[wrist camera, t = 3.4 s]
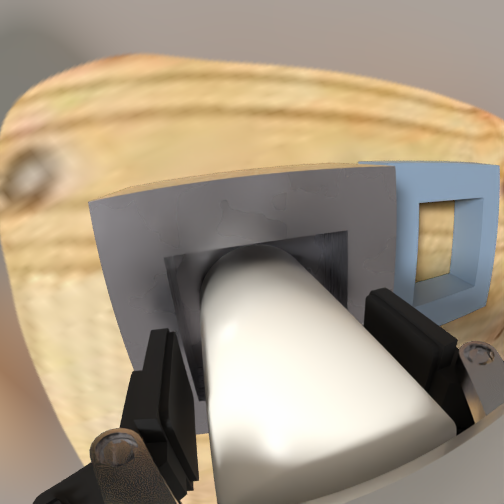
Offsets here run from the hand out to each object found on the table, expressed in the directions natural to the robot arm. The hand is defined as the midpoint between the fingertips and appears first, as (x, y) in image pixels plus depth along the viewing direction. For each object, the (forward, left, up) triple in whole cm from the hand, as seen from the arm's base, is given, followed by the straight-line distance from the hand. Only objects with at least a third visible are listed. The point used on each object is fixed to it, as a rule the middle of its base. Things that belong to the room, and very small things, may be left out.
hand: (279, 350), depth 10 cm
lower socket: (-13, 0, -8) cm, 15 cm away
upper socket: (0, 0, -8) cm, 8 cm away
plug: (0, 0, -4) cm, 4 cm away
